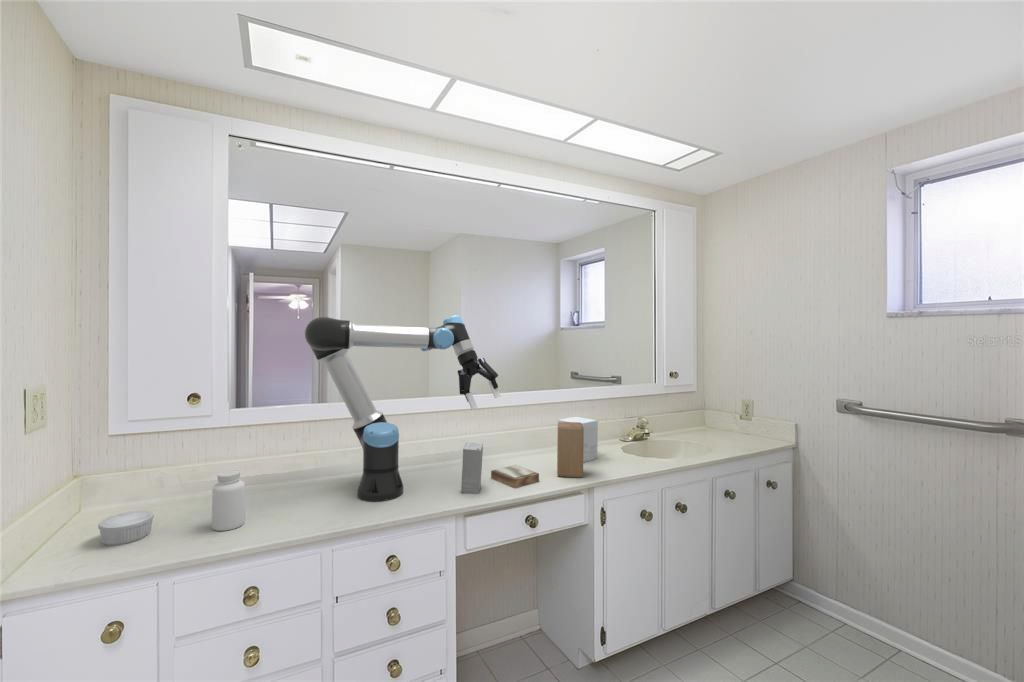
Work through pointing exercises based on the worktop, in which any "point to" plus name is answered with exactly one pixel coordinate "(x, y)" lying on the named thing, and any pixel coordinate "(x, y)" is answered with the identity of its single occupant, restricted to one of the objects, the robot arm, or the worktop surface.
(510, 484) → the wooden framed mirror
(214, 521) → the pill bottle
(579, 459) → the wooden block
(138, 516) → the ramekin
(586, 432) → the supplement box
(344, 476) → the worktop surface
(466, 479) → the skincare box
